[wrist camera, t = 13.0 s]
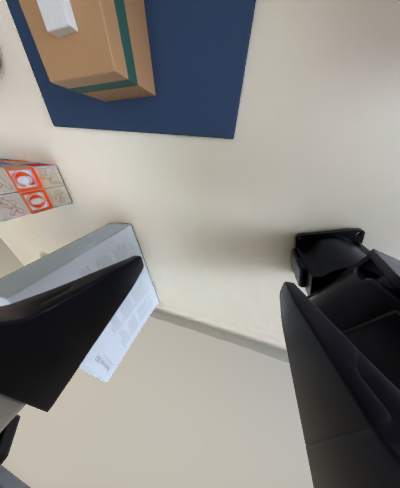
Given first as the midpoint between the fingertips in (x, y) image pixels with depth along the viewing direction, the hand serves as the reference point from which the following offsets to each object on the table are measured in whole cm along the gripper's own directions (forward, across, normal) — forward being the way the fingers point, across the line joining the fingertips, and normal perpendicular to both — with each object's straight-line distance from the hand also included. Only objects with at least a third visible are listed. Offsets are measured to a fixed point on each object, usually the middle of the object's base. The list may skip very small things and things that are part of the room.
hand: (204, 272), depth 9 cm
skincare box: (+13, +18, +14) cm, 26 cm away
